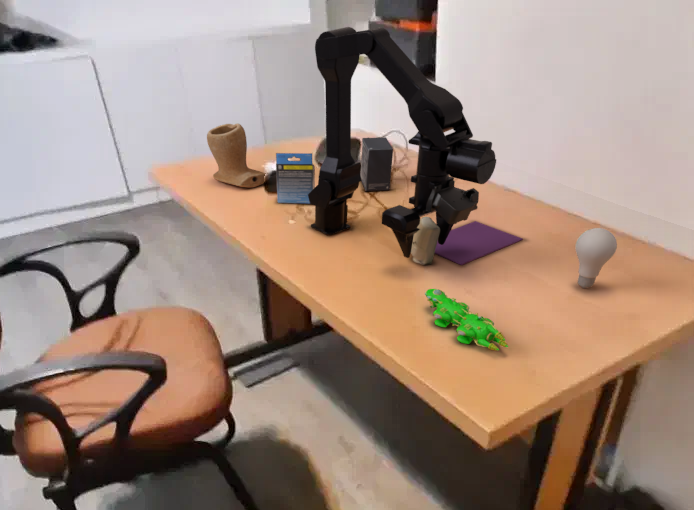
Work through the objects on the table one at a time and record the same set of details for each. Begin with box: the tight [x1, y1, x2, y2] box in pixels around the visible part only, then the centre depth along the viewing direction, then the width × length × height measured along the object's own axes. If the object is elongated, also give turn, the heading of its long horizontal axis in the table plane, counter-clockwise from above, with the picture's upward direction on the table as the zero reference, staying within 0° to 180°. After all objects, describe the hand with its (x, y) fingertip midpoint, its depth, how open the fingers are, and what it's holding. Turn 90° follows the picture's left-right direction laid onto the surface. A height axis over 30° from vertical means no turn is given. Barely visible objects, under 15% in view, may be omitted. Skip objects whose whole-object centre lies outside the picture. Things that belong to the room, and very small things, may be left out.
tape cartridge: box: [275, 152, 316, 205], centre depth 150 cm, size 9×4×12 cm, turn 76°
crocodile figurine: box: [424, 288, 509, 352], centre depth 100 cm, size 7×18×4 cm, turn 24°
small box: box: [360, 137, 394, 192], centre depth 156 cm, size 11×6×10 cm, turn 179°
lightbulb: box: [574, 227, 618, 289], centre depth 107 cm, size 6×6×11 cm
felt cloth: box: [434, 220, 524, 266], centre depth 128 cm, size 18×12×1 cm, turn 122°
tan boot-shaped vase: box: [206, 123, 267, 188], centre depth 162 cm, size 15×12×15 cm
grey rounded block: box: [410, 216, 440, 266], centre depth 120 cm, size 6×5×8 cm
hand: (424, 250), depth 121 cm, fingers open, 9 cm apart
